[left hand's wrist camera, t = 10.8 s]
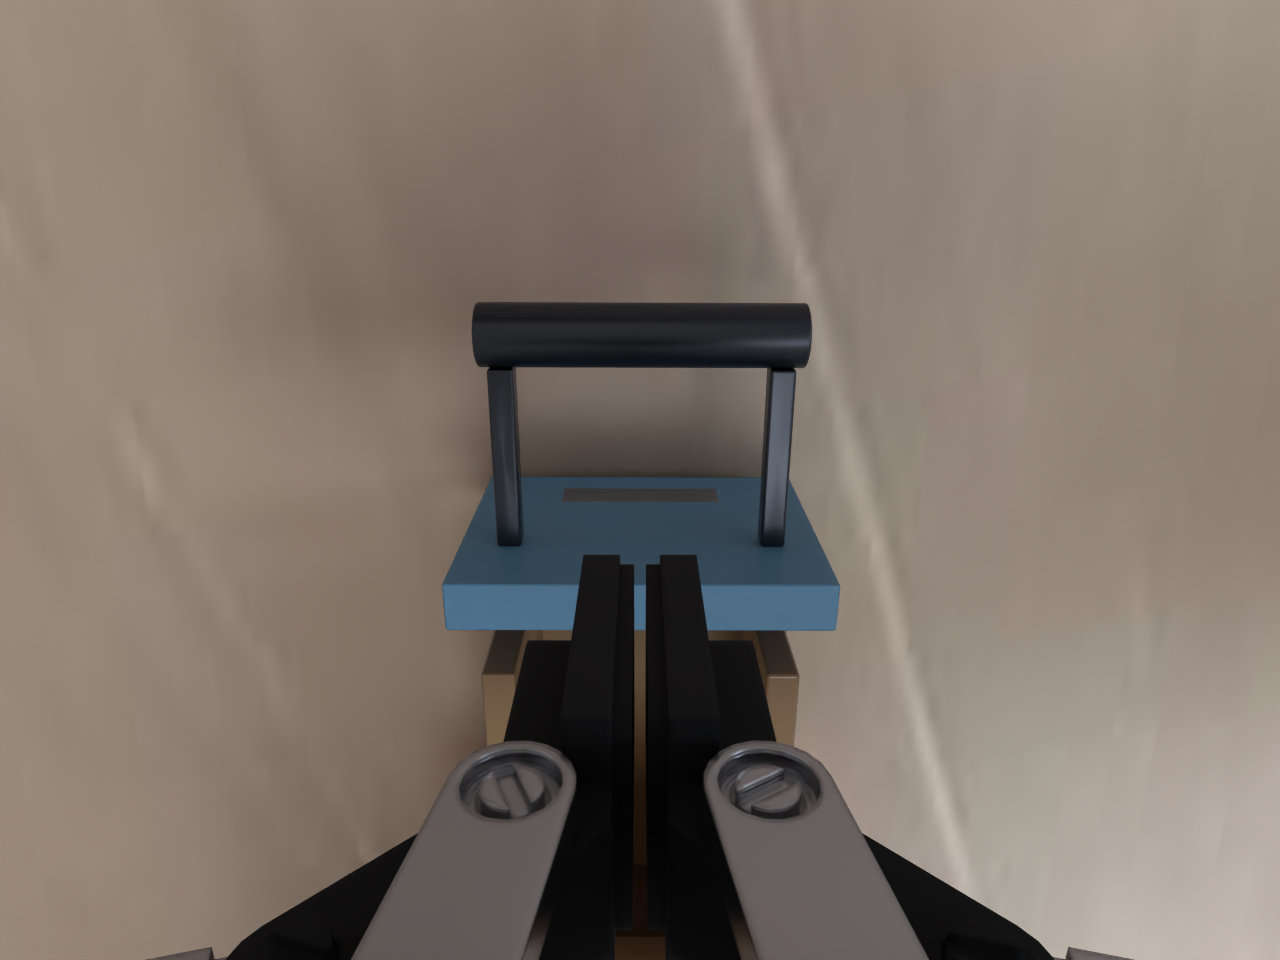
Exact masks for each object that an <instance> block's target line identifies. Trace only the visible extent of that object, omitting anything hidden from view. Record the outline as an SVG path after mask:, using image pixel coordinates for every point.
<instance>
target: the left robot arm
mask: <svg viewBox="0 0 1280 960" xmlns="http://www.w3.org/2000/svg"><path fill="white" fill-rule="evenodd" d="M634 746H635V678H634V564H620V555H583V561H582V568H581V575H580V582H579V589H578V596H577V603H576V610H575V617H574V624H573V631H572V638H571V640H529V641H527V644H526V647H525V652H524V656H523V660H522V664H521V669H520V673H519V677H518V681H517V686H516V690H515V694H514V698H513V703H512V707H511V711H510V715H509V720H508V724H507V728H506V732H505V737H504V741H503V742H502V743H497V744H492V745H489V746H487V747H484V748H482V749H480V750H477V751H475V752H473V753H471V754H470V755H469V756H467V757H466V758H465V759H463V760H462V761H460V762H459V763H458V764H457V766H456V767H455V768H454V770H453V771H452V772H451V773H450V775H449V776H448V778H447V780H446V782H445V784H444V786H443V787H442V789H441V791H440V793H439V795H438V797H437V799H436V801H435V803H434V804H433V806H432V808H431V810H430V812H429V814H428V816H427V818H426V819H425V821H424V823H423V825H422V827H421V829H420V831H419V833H417V834H416V835H414V836H412V837H411V838H409V839H407V840H406V841H404V842H402V843H401V844H399V845H397V846H396V847H394V848H392V849H391V850H389V851H387V852H386V853H384V854H382V855H381V856H379V857H377V858H376V859H374V860H372V861H370V862H369V863H367V864H365V865H364V866H362V867H360V868H359V869H357V870H355V871H354V872H352V873H350V874H349V875H347V876H345V877H344V878H342V879H340V880H339V881H337V882H335V883H334V884H332V885H330V886H329V887H327V888H325V889H324V890H322V891H320V892H319V893H317V894H315V895H313V896H312V897H310V898H308V899H307V900H305V901H303V902H302V903H300V904H298V905H297V906H295V907H293V908H292V909H290V910H288V911H287V912H285V913H283V914H282V915H280V916H278V917H277V918H275V919H273V920H272V921H270V922H268V923H267V924H265V925H263V926H262V927H260V928H259V929H258V930H256V931H255V932H254V933H252V934H251V935H250V936H248V937H247V938H246V939H244V940H243V941H241V943H240V944H239V945H238V946H237V947H236V948H235V949H234V950H233V952H232V953H231V954H230V955H229V956H228V957H225V958H219V959H214V955H213V951H212V947H209V948H204V949H199V950H194V951H188V952H183V953H178V954H173V955H168V956H162V957H157V958H152V959H147V960H615V931H616V930H633V853H634ZM645 746H646V853H647V930H664V931H665V960H1133V959H1128V958H1123V957H1118V956H1112V955H1107V954H1102V953H1097V952H1092V951H1086V950H1081V949H1076V948H1071V947H1068V951H1067V955H1066V959H1061V958H1055V957H1052V956H1051V955H1050V954H1049V953H1048V952H1047V950H1046V949H1045V948H1044V947H1043V946H1042V945H1041V944H1040V943H1039V941H1037V940H1036V939H1034V938H1033V937H1032V936H1030V935H1029V934H1028V933H1026V932H1025V931H1024V930H1022V929H1021V928H1020V927H1018V926H1017V925H1015V924H1013V923H1012V922H1010V921H1008V920H1007V919H1005V918H1003V917H1002V916H1000V915H998V914H997V913H995V912H993V911H992V910H990V909H988V908H987V907H985V906H983V905H982V904H980V903H978V902H977V901H975V900H973V899H972V898H970V897H968V896H967V895H965V894H963V893H961V892H960V891H958V890H956V889H955V888H953V887H951V886H950V885H948V884H946V883H945V882H943V881H941V880H940V879H938V878H936V877H935V876H933V875H931V874H930V873H928V872H926V871H925V870H923V869H921V868H920V867H918V866H916V865H915V864H913V863H911V862H910V861H908V860H906V859H904V858H903V857H901V856H899V855H898V854H896V853H894V852H893V851H891V850H889V849H888V848H886V847H884V846H883V845H881V844H879V843H878V842H876V841H874V840H873V839H871V838H869V837H868V836H866V835H864V834H863V833H861V831H860V829H859V827H858V825H857V823H856V821H855V819H854V818H853V816H852V814H851V812H850V810H849V808H848V806H847V804H846V803H845V801H844V799H843V797H842V795H841V793H840V791H839V789H838V787H837V786H836V784H835V782H834V780H833V778H832V776H831V775H830V773H829V772H828V771H827V770H826V768H825V767H824V766H823V764H822V763H821V762H820V761H818V760H817V759H815V758H814V757H813V756H811V755H810V754H809V753H807V752H805V751H803V750H800V749H798V748H796V747H793V746H791V745H788V744H783V743H778V742H777V741H776V737H775V732H774V728H773V724H772V720H771V715H770V711H769V707H768V703H767V698H766V694H765V690H764V686H763V681H762V677H761V673H760V669H759V664H758V660H757V656H756V652H755V647H754V644H753V641H751V640H709V638H708V631H707V624H706V617H705V610H704V603H703V596H702V589H701V582H700V575H699V568H698V561H697V555H660V564H646V678H645Z"/></svg>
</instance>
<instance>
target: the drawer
mask: <svg viewBox="0 0 1280 960" xmlns="http://www.w3.org/2000/svg"><path fill="white" fill-rule="evenodd" d="M811 341H812V321H811V313H810V309H809V306H808V305H807V304H805V303H563V302H478V303H476V304H475V307H474V310H473V317H472V344H473V352H474V357H475V361H476V363H477V365H478V366H479V367H489V368H488V370H487V382H488V399H489V415H490V431H491V448H492V464H493V477H492V478H491V480H490V482H489V484H488V486H487V489H486V491H485V493H484V495H483V497H482V499H481V502H480V504H479V506H478V508H477V510H476V512H475V515H474V517H473V519H472V521H471V523H470V526H469V528H468V530H467V532H466V534H465V536H464V539H463V541H462V543H461V545H460V547H459V549H458V552H457V554H456V556H455V558H454V560H453V562H452V565H451V567H450V569H449V571H448V573H447V576H446V578H445V580H444V582H443V584H442V591H443V602H444V614H445V625H446V629H447V630H495V632H494V635H493V639H492V642H491V645H490V649H489V652H488V655H487V658H486V662H485V665H484V668H483V672H482V675H481V676H482V690H483V704H484V717H485V731H486V745H487V746H489V745H492V744H497V743H502V742H503V741H504V737H505V732H506V728H507V724H508V720H509V715H510V711H511V707H512V703H513V698H514V694H515V690H516V686H517V681H518V677H519V673H520V669H521V664H522V660H523V656H524V652H525V647H526V644H527V641H529V640H571V638H572V631H573V624H574V617H575V610H576V603H577V596H578V589H579V582H580V575H581V568H582V561H583V555H620V564H634V678H635V746H634V853H633V930H616V931H615V937H665V931H664V930H647V853H646V746H645V678H646V564H660V555H697V561H698V568H699V575H700V582H701V589H702V596H703V603H704V610H705V617H706V624H707V631H708V638H709V640H751V641H753V644H754V647H755V652H756V656H757V660H758V664H759V669H760V673H761V677H762V681H763V686H764V690H765V694H766V698H767V703H768V707H769V711H770V715H771V720H772V724H773V728H774V732H775V737H776V741H777V742H778V743H783V744H788V745H791V746H793V747H794V737H795V725H796V713H797V700H798V688H799V673H798V670H797V667H796V663H795V660H794V657H793V654H792V651H791V648H790V644H789V641H788V638H787V635H786V632H785V631H834V630H835V629H836V623H837V613H838V603H839V593H840V585H839V583H838V580H837V578H836V576H835V574H834V572H833V570H832V568H831V566H830V564H829V562H828V560H827V557H826V555H825V553H824V551H823V549H822V547H821V545H820V543H819V541H818V539H817V536H816V534H815V532H814V530H813V528H812V526H811V524H810V522H809V520H808V518H807V516H806V513H805V511H804V509H803V507H802V505H801V503H800V501H799V499H798V497H797V495H796V492H795V490H794V488H793V486H792V484H791V482H790V480H789V470H790V456H791V442H792V427H793V413H794V399H795V384H796V370H795V369H794V368H804V367H806V365H807V363H808V360H809V356H810V350H811ZM516 367H615V368H767V384H766V401H765V418H764V436H763V453H762V470H761V477H521V466H520V446H519V425H518V405H517V384H516Z"/></svg>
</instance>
